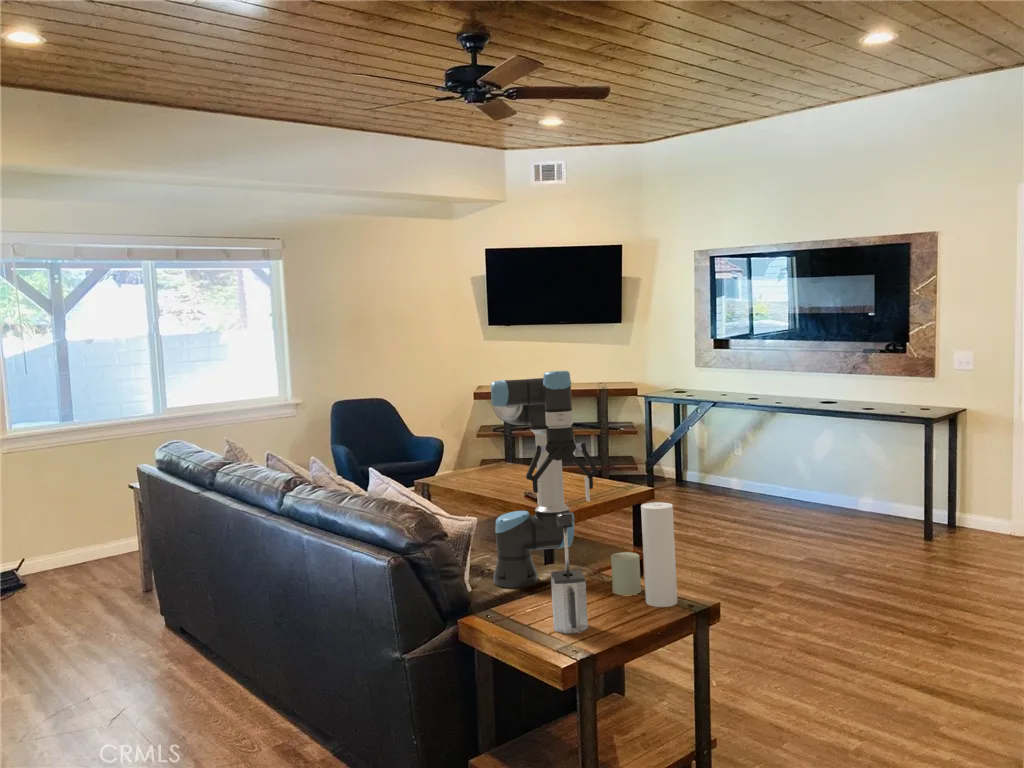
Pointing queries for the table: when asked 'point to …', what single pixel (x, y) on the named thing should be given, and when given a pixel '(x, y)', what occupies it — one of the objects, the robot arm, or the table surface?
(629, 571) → the can
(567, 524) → the plunger
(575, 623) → the press carafe
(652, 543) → the cylinder container
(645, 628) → the table surface
